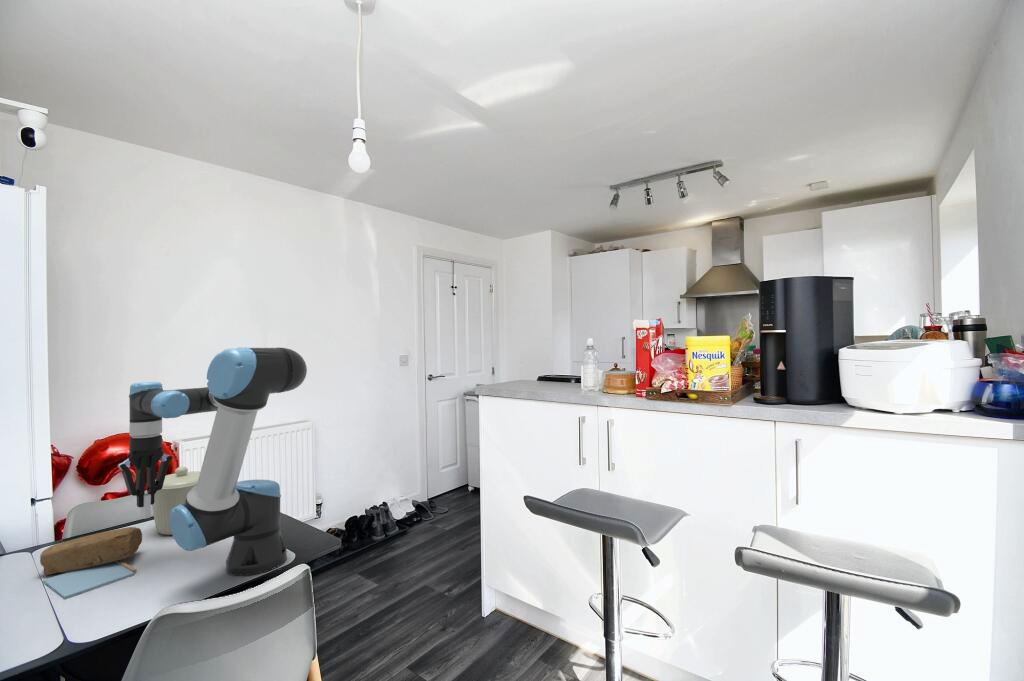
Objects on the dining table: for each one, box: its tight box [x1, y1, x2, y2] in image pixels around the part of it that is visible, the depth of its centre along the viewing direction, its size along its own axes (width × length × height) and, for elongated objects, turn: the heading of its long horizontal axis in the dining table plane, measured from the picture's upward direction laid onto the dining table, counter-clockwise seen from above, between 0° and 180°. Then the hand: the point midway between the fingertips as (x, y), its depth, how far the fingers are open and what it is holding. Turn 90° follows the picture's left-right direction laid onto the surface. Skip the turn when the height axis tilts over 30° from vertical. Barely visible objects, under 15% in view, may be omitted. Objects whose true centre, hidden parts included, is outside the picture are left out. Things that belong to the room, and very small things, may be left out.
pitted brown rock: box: [39, 526, 143, 576], centre depth 132 cm, size 11×8×20 cm
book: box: [42, 559, 137, 600], centre depth 124 cm, size 16×15×1 cm
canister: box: [151, 466, 201, 536], centre depth 157 cm, size 18×18×21 cm
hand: (145, 517), depth 134 cm, fingers closed
